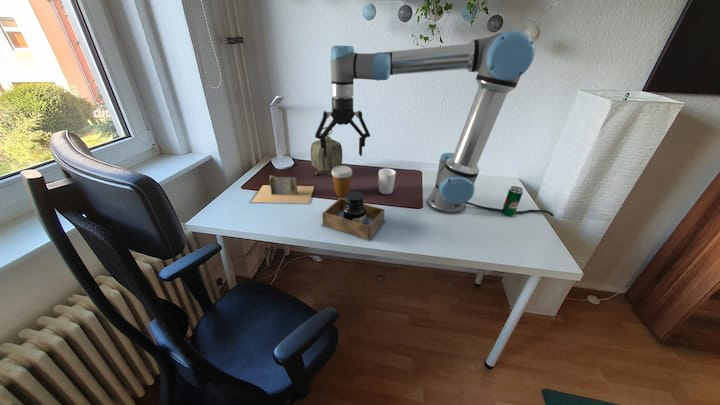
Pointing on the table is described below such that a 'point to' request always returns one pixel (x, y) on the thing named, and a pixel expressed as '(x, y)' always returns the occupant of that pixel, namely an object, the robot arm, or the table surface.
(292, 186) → the architectural model on board
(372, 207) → the wooden box
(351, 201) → the ink bottle
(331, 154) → the tabletop clock
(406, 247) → the table surface
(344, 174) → the disposable coffee cup
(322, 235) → the table surface
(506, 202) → the soda can
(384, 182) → the white cup
